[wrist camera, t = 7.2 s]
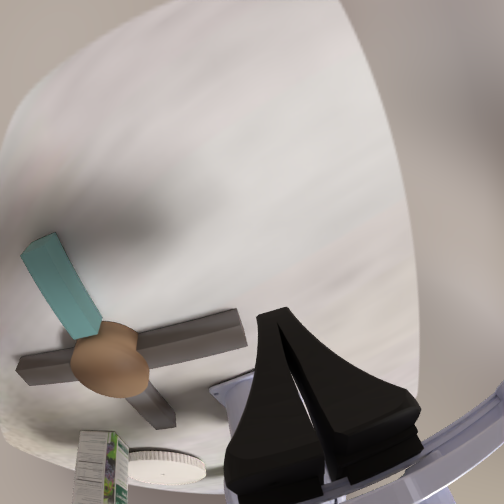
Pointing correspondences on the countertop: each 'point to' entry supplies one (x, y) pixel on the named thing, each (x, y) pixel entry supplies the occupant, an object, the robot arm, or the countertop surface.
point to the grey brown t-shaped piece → (135, 360)
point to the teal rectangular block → (62, 286)
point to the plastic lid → (165, 468)
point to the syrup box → (101, 469)
